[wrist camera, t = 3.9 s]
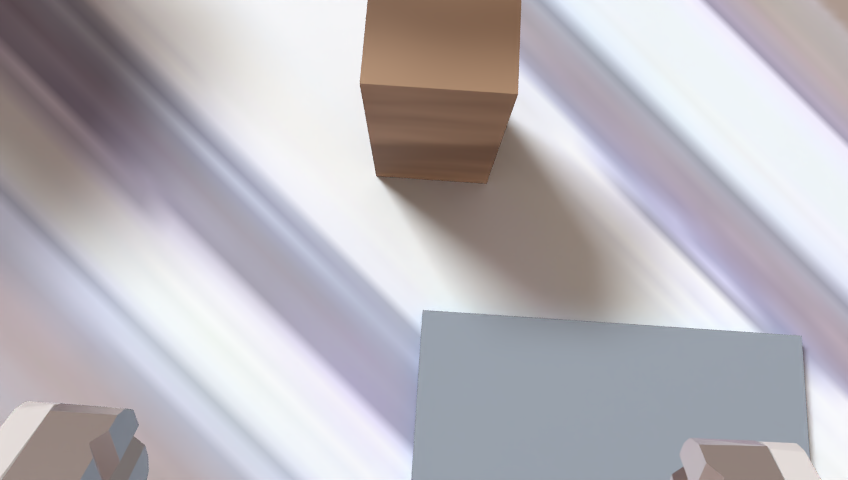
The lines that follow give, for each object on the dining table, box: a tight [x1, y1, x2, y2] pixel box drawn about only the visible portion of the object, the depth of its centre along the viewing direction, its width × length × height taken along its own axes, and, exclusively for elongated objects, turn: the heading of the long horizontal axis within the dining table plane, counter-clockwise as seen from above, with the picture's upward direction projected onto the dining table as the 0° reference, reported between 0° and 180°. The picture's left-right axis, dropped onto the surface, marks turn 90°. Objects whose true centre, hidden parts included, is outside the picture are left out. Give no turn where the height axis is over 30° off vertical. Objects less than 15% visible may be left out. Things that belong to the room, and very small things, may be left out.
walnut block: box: [360, 0, 521, 184], centre depth 25 cm, size 4×5×9 cm
